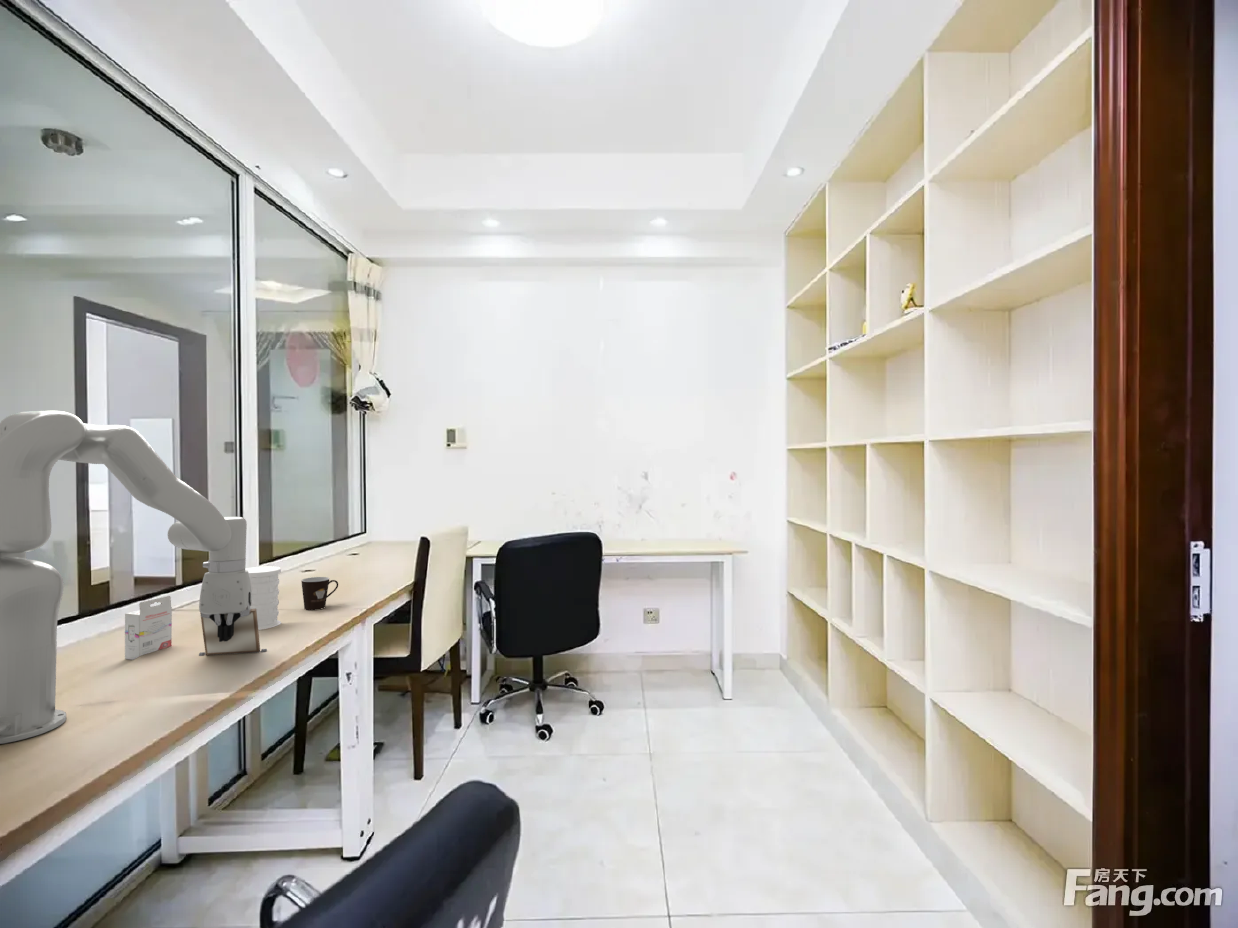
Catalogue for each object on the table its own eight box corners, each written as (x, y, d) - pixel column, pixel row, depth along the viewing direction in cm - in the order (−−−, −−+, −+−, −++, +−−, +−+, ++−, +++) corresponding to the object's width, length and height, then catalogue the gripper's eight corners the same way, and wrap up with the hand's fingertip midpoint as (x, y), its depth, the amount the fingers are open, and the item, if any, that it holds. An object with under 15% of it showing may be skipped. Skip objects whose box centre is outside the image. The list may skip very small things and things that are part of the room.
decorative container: (257, 636, 164) (258, 574, 164) (226, 632, 167) (227, 571, 167) (290, 625, 175) (291, 567, 175) (260, 622, 178) (261, 565, 178)
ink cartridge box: (156, 648, 151) (158, 593, 151) (172, 650, 150) (173, 595, 150) (123, 659, 143) (124, 601, 143) (138, 660, 142) (140, 602, 142)
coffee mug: (300, 612, 190) (301, 582, 190) (300, 606, 198) (301, 578, 198) (338, 608, 196) (339, 579, 196) (337, 603, 203) (338, 575, 203)
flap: (254, 610, 143) (256, 608, 144) (200, 613, 140) (202, 610, 141) (258, 654, 146) (260, 651, 147) (205, 657, 143) (207, 655, 144)
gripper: (185, 569, 135) (183, 646, 135) (255, 568, 139) (253, 642, 139) (200, 564, 143) (198, 637, 142) (266, 563, 146) (264, 634, 146)
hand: (225, 639), depth 140 cm, fingers closed
